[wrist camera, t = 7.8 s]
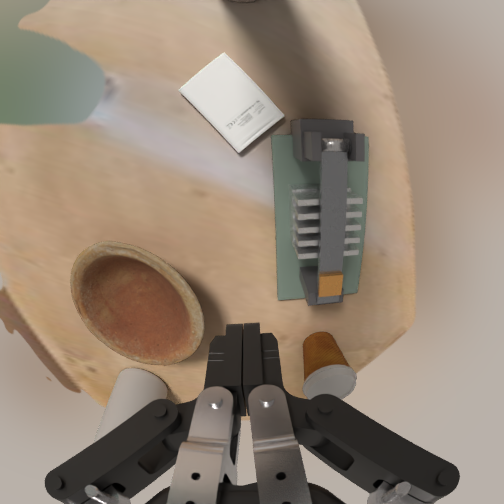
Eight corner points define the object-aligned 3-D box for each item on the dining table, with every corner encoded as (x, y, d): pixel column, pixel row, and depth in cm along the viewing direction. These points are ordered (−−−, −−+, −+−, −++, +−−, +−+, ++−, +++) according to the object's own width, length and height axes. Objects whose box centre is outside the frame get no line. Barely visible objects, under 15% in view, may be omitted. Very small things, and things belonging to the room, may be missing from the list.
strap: (315, 137, 28) (319, 138, 26) (346, 138, 28) (351, 139, 26) (313, 299, 36) (315, 306, 35) (338, 296, 36) (341, 304, 35)
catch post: (298, 264, 44) (308, 293, 36) (328, 262, 43) (343, 290, 36) (298, 275, 44) (307, 305, 37) (328, 273, 44) (342, 302, 37)
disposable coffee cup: (285, 350, 52) (292, 398, 41) (315, 318, 48) (330, 366, 37) (320, 364, 54) (331, 409, 43) (350, 335, 51) (369, 380, 40)
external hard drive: (224, 54, 30) (283, 116, 34) (180, 91, 33) (238, 152, 37) (224, 51, 29) (285, 115, 33) (177, 90, 31) (238, 153, 35)
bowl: (95, 204, 39) (69, 221, 31) (230, 257, 43) (227, 284, 36) (83, 311, 48) (66, 335, 40) (189, 353, 52) (182, 383, 45)
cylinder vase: (140, 360, 53) (107, 457, 30) (178, 390, 58) (161, 483, 35) (110, 374, 56) (78, 457, 33) (146, 401, 60) (125, 482, 38)
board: (271, 135, 35) (271, 135, 34) (366, 136, 35) (368, 136, 34) (277, 297, 46) (277, 300, 45) (355, 290, 46) (357, 292, 45)
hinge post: (290, 120, 34) (307, 117, 24) (335, 121, 34) (366, 120, 24) (292, 155, 36) (309, 166, 26) (336, 155, 36) (367, 166, 26)
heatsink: (287, 183, 38) (297, 197, 31) (341, 182, 38) (362, 196, 30) (289, 236, 41) (298, 261, 34) (339, 233, 41) (358, 256, 34)
